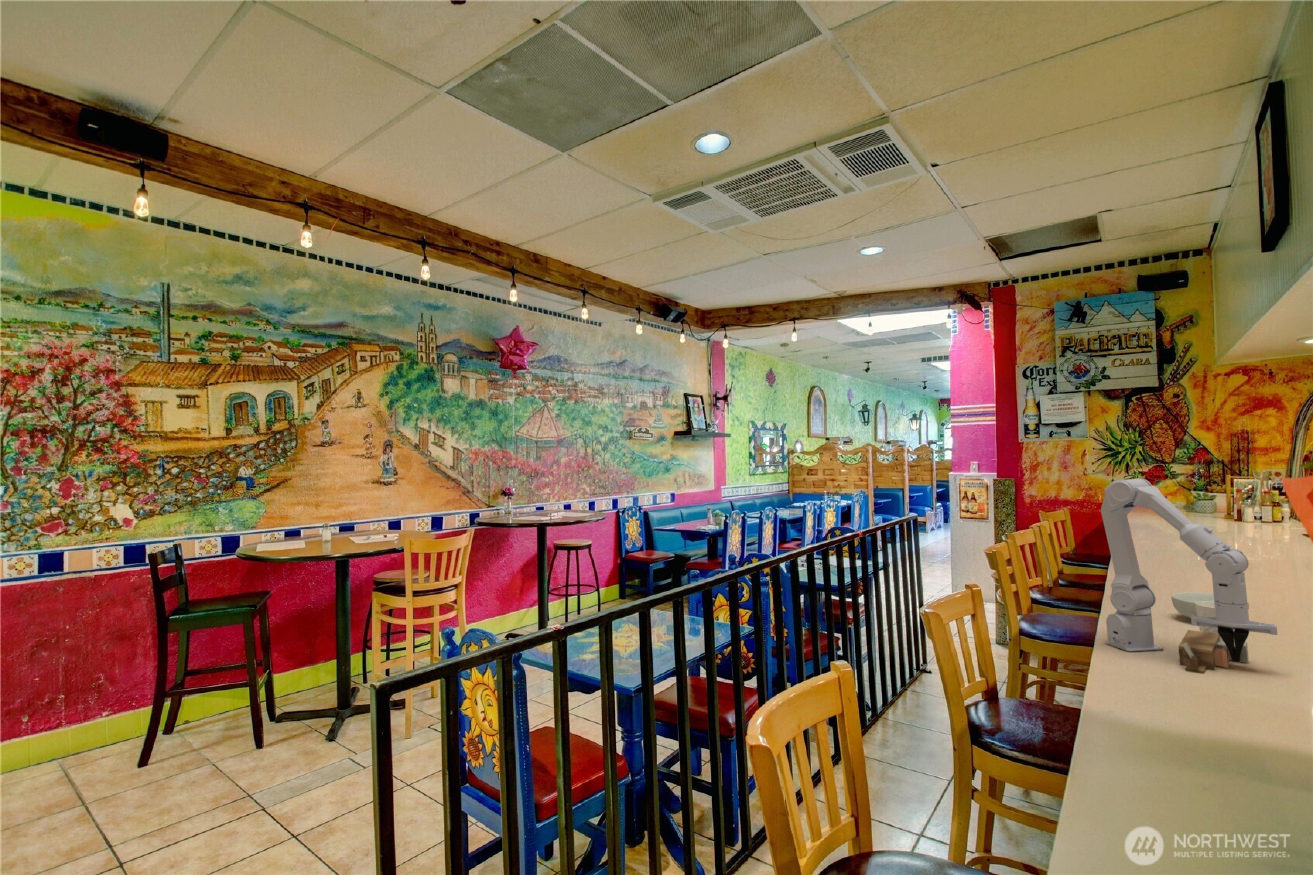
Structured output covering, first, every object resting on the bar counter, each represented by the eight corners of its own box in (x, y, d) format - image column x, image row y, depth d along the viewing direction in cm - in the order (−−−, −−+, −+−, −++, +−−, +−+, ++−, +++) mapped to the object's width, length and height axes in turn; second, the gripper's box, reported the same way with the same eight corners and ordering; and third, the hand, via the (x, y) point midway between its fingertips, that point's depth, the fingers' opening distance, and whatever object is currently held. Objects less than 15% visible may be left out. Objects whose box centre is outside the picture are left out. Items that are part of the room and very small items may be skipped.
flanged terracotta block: (1229, 663, 145) (1227, 646, 145) (1227, 667, 142) (1226, 651, 142) (1191, 657, 150) (1190, 641, 150) (1189, 662, 147) (1188, 645, 147)
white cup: (1247, 647, 156) (1243, 608, 156) (1211, 647, 157) (1208, 608, 158) (1225, 639, 164) (1222, 601, 164) (1191, 638, 165) (1188, 601, 166)
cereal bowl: (1161, 620, 184) (1159, 596, 185) (1191, 612, 191) (1188, 589, 192) (1233, 632, 169) (1230, 606, 169) (1262, 623, 176) (1259, 598, 176)
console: (1221, 651, 154) (1219, 633, 154) (1212, 674, 139) (1210, 654, 139) (1189, 647, 158) (1188, 629, 158) (1177, 669, 143) (1176, 649, 143)
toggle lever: (1199, 660, 143) (1187, 641, 144) (1198, 663, 141) (1186, 644, 142) (1194, 661, 143) (1182, 643, 145) (1193, 664, 142) (1181, 645, 143)
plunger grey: (1248, 658, 147) (1247, 642, 148) (1247, 662, 144) (1245, 646, 145) (1211, 653, 152) (1209, 637, 152) (1209, 657, 149) (1208, 641, 149)
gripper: (1275, 602, 141) (1280, 662, 140) (1191, 595, 151) (1196, 651, 150) (1274, 608, 136) (1280, 670, 135) (1188, 600, 146) (1193, 658, 145)
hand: (1236, 660), depth 142 cm, fingers closed
